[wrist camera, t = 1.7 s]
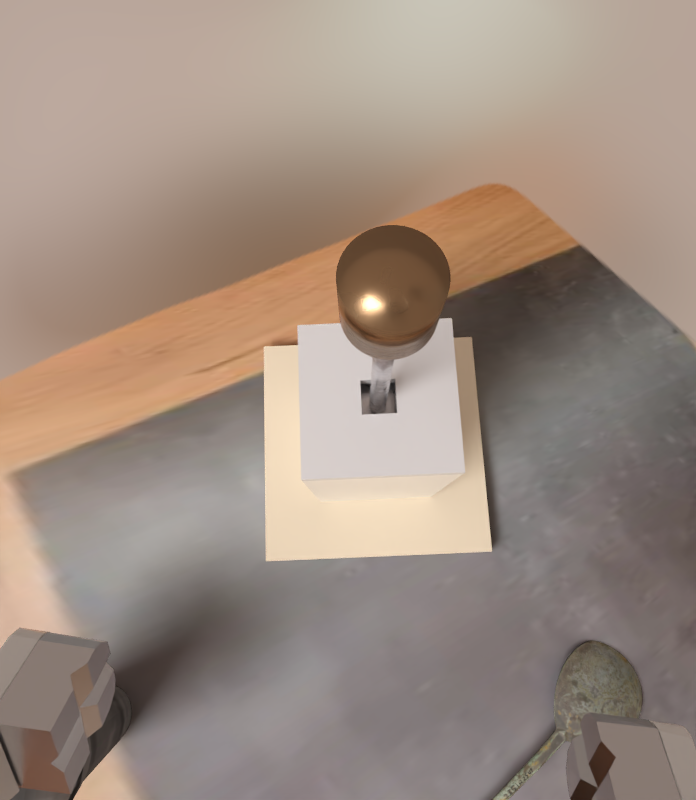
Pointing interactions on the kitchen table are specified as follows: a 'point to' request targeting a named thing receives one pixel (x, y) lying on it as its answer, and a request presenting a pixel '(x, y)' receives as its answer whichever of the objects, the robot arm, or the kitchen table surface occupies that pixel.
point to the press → (372, 451)
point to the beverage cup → (92, 747)
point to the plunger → (390, 302)
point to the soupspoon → (584, 700)
